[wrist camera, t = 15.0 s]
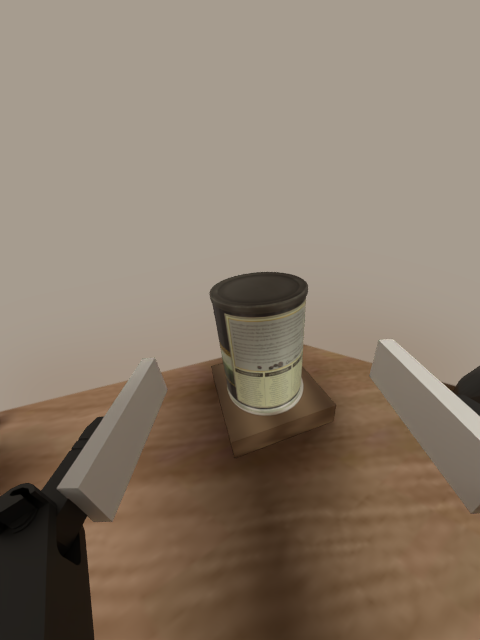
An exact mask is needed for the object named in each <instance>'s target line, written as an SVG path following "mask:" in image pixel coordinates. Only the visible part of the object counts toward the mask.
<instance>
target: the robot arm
mask: <svg viewBox="0 0 480 640" xmlns="http://www.w3.org/2000/svg"><path fill="white" fill-rule="evenodd" d="M370 378H371V379H372V380H373V382H374V383H375V384H376V386H377V387H378V388H379V390H380V391H381V392H382V394H383V395H384V397H385V398H386V399H387V401H388V402H389V403H390V405H391V406H392V407H393V409H394V410H395V411H396V413H397V414H398V415H399V417H400V418H401V420H402V421H403V422H404V424H405V425H406V426H407V428H408V429H409V430H410V432H411V433H412V434H413V436H414V437H415V438H416V440H417V441H418V443H419V444H420V445H421V447H422V448H423V449H424V451H425V452H426V453H427V455H428V456H429V457H430V459H431V460H432V462H433V463H434V464H435V466H436V467H437V468H438V470H439V471H440V472H441V474H442V475H443V476H444V478H445V479H446V480H447V482H448V483H449V485H450V486H451V487H452V489H453V490H454V491H455V493H456V494H457V495H458V497H459V498H460V499H461V501H462V502H463V503H464V505H465V506H466V508H467V509H468V510H469V512H470V513H471V514H476V513H480V366H479V367H477V368H476V369H474V370H473V371H471V372H470V373H468V374H467V375H465V376H464V377H463V378H462V379H461V380H460V381H459V382H458V384H457V385H456V387H455V389H454V391H453V392H452V391H451V390H450V389H448V388H447V387H446V386H445V385H444V384H443V383H442V382H441V381H439V380H438V379H437V378H436V377H435V376H434V375H433V374H432V373H431V372H429V371H428V370H427V369H426V368H425V367H424V366H423V365H422V364H420V363H419V362H418V361H417V360H416V359H415V358H414V357H412V356H411V355H410V354H409V353H408V352H407V351H406V350H405V349H404V348H402V347H401V346H400V345H399V344H398V343H397V342H396V341H395V340H393V339H385V340H378V344H377V348H376V352H375V356H374V360H373V364H372V368H371V372H370ZM167 390H168V389H167V387H166V384H165V382H164V379H163V377H162V374H161V372H160V369H159V367H158V364H157V362H156V359H155V358H144V359H142V361H141V362H140V364H139V365H138V367H137V368H136V370H135V371H134V373H133V374H132V376H131V377H130V379H129V380H128V382H127V383H126V385H125V386H124V388H123V389H122V391H121V392H120V394H119V395H118V397H117V398H116V400H115V401H114V403H113V404H112V406H111V407H110V409H109V410H108V412H107V413H106V415H105V416H104V417H97V418H96V419H95V420H94V421H93V422H92V423H91V424H90V425H89V426H87V427H86V429H85V430H84V432H83V433H82V434H81V436H80V437H79V440H78V441H76V443H75V444H74V446H73V447H72V450H71V451H69V453H68V454H67V456H66V457H65V458H64V460H63V461H62V463H61V464H60V465H59V467H58V468H57V470H56V471H55V472H54V474H53V475H52V477H51V478H50V479H49V481H48V482H47V484H46V485H45V486H44V488H43V489H42V490H41V491H40V490H39V489H38V488H36V487H35V486H34V485H32V484H30V483H25V484H20V485H18V486H16V487H14V488H12V489H10V490H9V491H7V492H6V493H5V494H3V495H2V496H0V640H94V630H93V619H92V607H91V596H90V585H89V573H88V562H87V551H86V539H85V530H84V528H83V523H84V521H85V519H86V517H87V516H88V517H89V518H90V519H91V520H92V521H93V522H113V519H114V517H115V514H116V512H117V510H118V507H119V505H120V502H121V500H122V498H123V495H124V493H125V490H126V488H127V486H128V483H129V481H130V478H131V476H132V474H133V471H134V469H135V466H136V464H137V462H138V459H139V457H140V454H141V452H142V450H143V447H144V445H145V442H146V440H147V438H148V435H149V433H150V431H151V428H152V426H153V423H154V421H155V419H156V416H157V414H158V411H159V409H160V407H161V404H162V402H163V399H164V397H165V395H166V392H167Z"/></svg>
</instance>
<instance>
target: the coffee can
mask: <svg viewBox="0 0 480 640" xmlns="http://www.w3.org/2000/svg"><path fill="white" fill-rule="evenodd" d="M307 293H308V285H307V283H306V282H305V281H304V280H303V279H301V278H299V277H297V276H294V275H291V274H286V273H278V272H277V273H276V272H257V273H250V274H243V275H238V276H234V277H231V278H228V279H225V280H223V281H221V282H219V283H217V284H216V285H214V286H213V287H212V289H211V291H210V299H211V301H212V303H213V309H214V315H215V319H216V325H217V331H218V336H219V342H220V348H221V353H222V359H223V364H224V370H225V375H226V381H227V390H228V393H229V395H230V397H231V398H232V400H233V401H234V402H235V403H236V404H237V405H239V406H240V407H242V408H244V409H246V410H249V411H252V412H257V413H273V412H276V411H280V410H283V409H285V408H287V407H288V406H290V405H291V404H292V403H293V402H294V401H295V400H296V399H297V398H298V396H299V394H300V391H301V373H302V355H303V338H304V322H305V304H306V296H307Z"/></svg>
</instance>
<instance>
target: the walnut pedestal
mask: <svg viewBox="0 0 480 640" xmlns="http://www.w3.org/2000/svg"><path fill="white" fill-rule="evenodd" d="M211 368H212V373H213V378H214V382H215V386H216V389H217V393H218V397H219V401H220V405H221V408H222V412H223V416H224V420H225V424H226V427H227V431H228V435H229V439H230V443H231V446H232V450H233V454H234V458H237V457H239V456H242V455H245V454H247V453H250V452H253V451H255V450H258V449H261V448H263V447H266V446H268V445H271V444H274V443H276V442H279V441H282V440H284V439H287V438H290V437H292V436H295V435H298V434H300V433H303V432H306V431H308V430H311V429H314V428H316V427H319V426H322V425H324V424H327V423H330V422H332V421H333V420H334V414H335V409H336V404H335V403H334V402H333V401H332V400H331V398H330V397H329V396H328V395H327V394H326V393H325V392H324V391H323V389H322V388H321V387H320V386H319V385H318V384H317V383H316V381H315V380H314V379H313V378H312V377H311V376H310V375H309V373H308V372H307V371H306V370H305V369H304V368H303V367H302V373H301V391H300V394H299V396H298V398H297V399H296V400H295V401H294V402H293V403H292V404H291V405H290V406H288V407H287V408H285V409H283V410H280V411H276V412H273V413H257V412H252V411H249V410H246V409H244V408H242V407H240V406H239V405H237V404H236V403H235V402H234V401H233V400H232V398H231V397H230V395H229V393H228V390H227V381H226V375H225V370H224V364H223V363H221V364H218V365H214V366H211Z"/></svg>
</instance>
